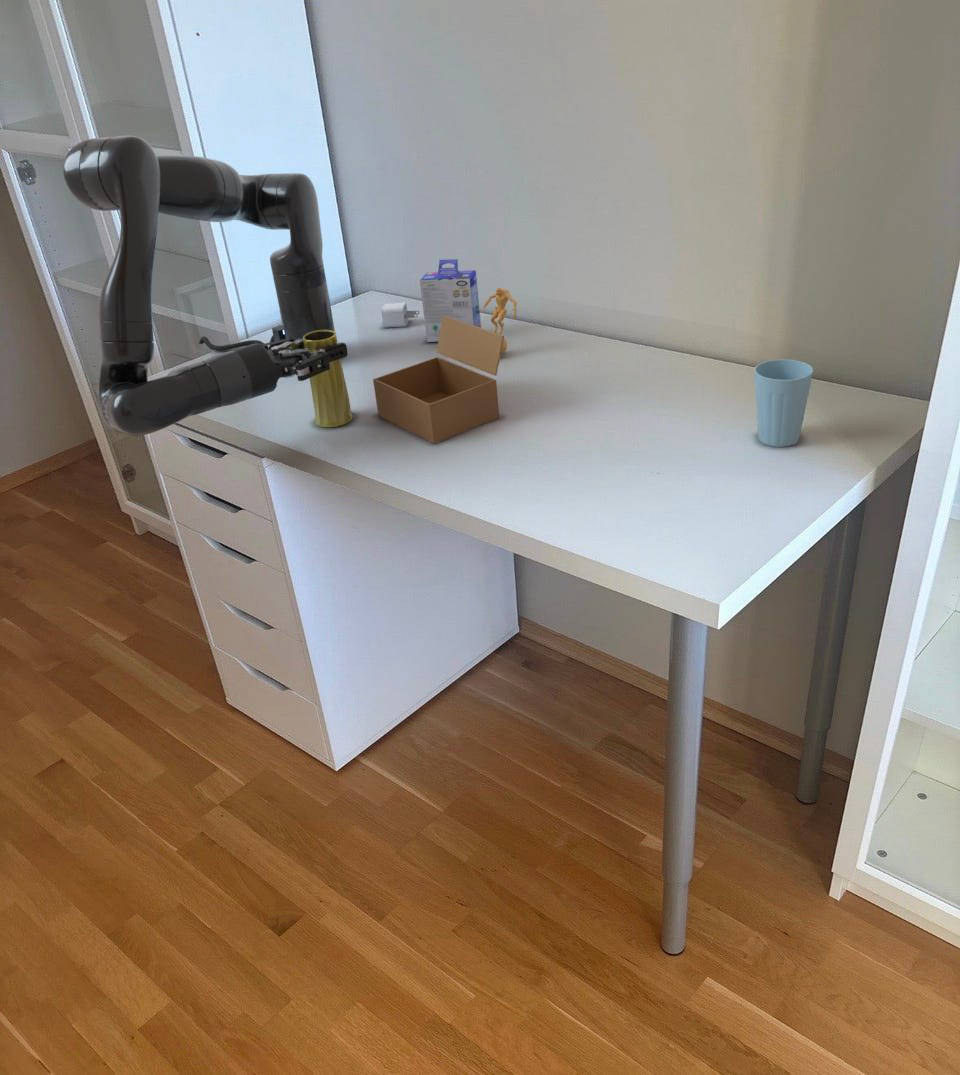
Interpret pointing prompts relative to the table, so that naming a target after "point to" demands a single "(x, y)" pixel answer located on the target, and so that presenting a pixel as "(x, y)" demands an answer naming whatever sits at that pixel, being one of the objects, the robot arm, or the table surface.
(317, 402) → the vase
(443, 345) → the flap
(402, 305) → the usb wall charger
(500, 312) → the figurine
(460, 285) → the ink cartridge box
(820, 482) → the table surface
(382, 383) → the carton
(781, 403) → the cup
